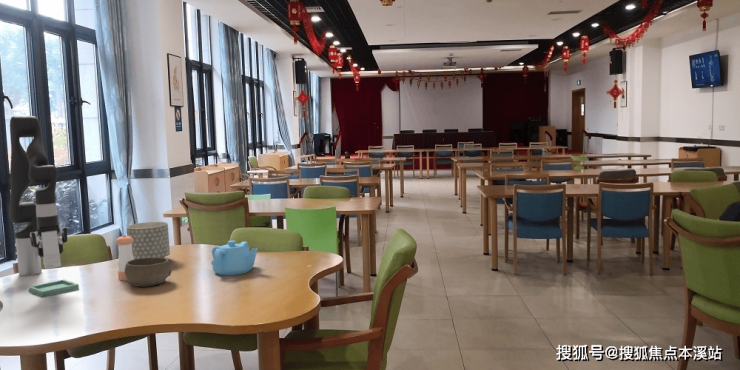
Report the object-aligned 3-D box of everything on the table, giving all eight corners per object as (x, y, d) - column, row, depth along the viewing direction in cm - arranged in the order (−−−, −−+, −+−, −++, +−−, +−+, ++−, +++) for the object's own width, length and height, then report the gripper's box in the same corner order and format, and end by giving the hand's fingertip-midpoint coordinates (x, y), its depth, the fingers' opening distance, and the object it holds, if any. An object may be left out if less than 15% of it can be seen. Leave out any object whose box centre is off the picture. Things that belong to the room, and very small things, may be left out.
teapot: (214, 278, 260) (212, 246, 259) (209, 269, 278) (207, 239, 277) (259, 273, 267) (257, 242, 265) (251, 264, 285) (250, 235, 283)
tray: (29, 291, 249) (28, 286, 249) (64, 283, 260) (63, 279, 260) (42, 297, 240) (42, 292, 240) (78, 288, 251) (78, 284, 250)
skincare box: (61, 267, 247) (58, 230, 246) (44, 269, 244) (41, 232, 242) (58, 263, 254) (55, 228, 253) (42, 265, 251) (39, 230, 249)
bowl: (179, 279, 260) (177, 256, 259) (151, 291, 243) (150, 266, 242) (146, 277, 266) (144, 255, 265) (116, 288, 249) (114, 264, 248)
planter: (155, 255, 311) (152, 220, 309) (178, 259, 300) (175, 223, 298) (121, 263, 296) (118, 226, 294) (144, 267, 285) (141, 229, 283)
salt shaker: (140, 276, 268) (136, 233, 266) (127, 280, 262) (123, 236, 260) (127, 275, 271) (124, 232, 269) (114, 279, 265) (111, 235, 263)
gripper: (61, 211, 255) (65, 250, 256) (24, 216, 244) (28, 257, 246) (69, 212, 250) (72, 252, 251) (31, 217, 239) (35, 259, 241)
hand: (50, 254), depth 249 cm, fingers closed on skincare box, 6 cm apart
